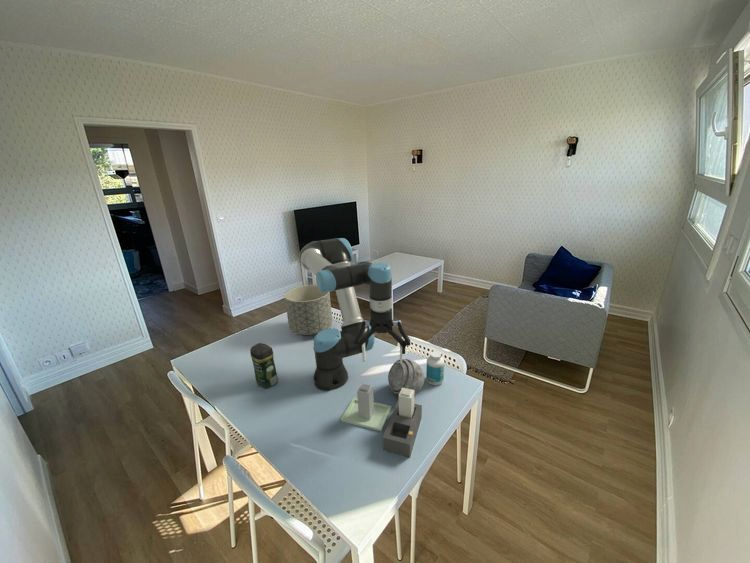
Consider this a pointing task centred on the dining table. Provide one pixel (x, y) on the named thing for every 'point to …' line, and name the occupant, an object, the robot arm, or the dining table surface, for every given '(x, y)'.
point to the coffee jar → (264, 365)
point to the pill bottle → (435, 368)
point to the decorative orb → (405, 376)
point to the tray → (374, 423)
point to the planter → (308, 310)
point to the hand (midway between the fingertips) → (382, 360)
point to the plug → (365, 401)
